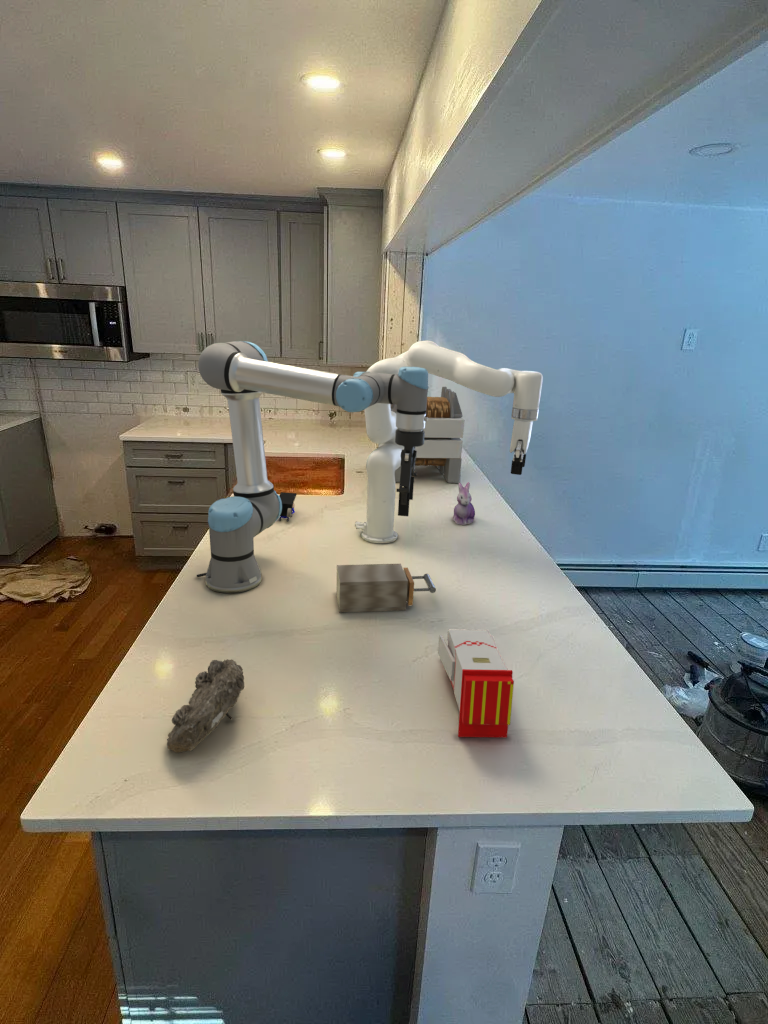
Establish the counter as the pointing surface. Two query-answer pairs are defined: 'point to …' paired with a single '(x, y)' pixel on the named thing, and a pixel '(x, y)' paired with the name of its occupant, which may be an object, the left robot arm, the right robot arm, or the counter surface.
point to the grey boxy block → (371, 587)
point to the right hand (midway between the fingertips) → (517, 470)
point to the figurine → (464, 506)
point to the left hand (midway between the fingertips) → (405, 507)
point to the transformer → (441, 436)
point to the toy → (478, 682)
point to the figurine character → (287, 505)
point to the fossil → (206, 705)
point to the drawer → (411, 588)
